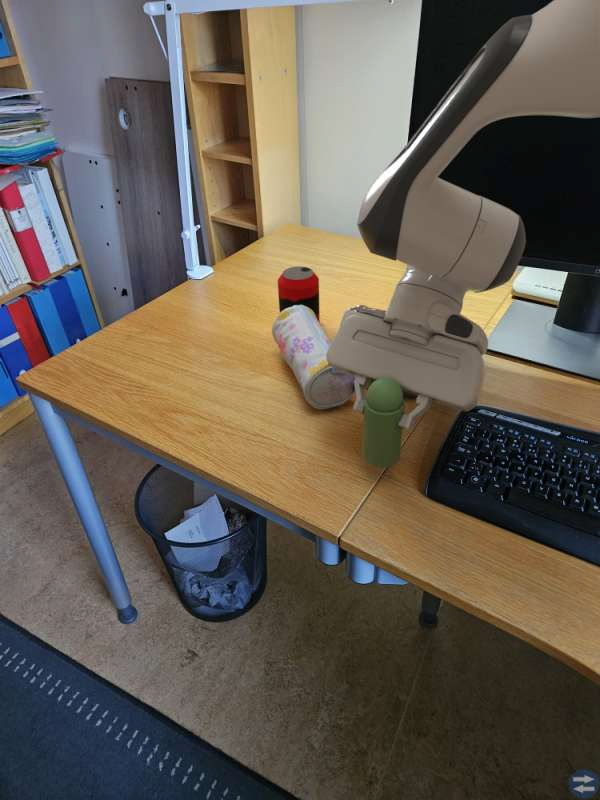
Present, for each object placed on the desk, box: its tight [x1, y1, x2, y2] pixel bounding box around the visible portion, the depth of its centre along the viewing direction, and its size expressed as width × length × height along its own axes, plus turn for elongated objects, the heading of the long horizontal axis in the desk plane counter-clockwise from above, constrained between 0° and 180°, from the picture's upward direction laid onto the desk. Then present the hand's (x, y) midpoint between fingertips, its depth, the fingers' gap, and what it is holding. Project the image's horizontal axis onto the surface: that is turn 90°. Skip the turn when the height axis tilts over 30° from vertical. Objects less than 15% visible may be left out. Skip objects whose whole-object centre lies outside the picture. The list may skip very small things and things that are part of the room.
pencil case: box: [271, 305, 356, 410], centre depth 93 cm, size 21×9×10 cm, turn 18°
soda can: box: [277, 266, 321, 324], centre depth 105 cm, size 8×8×12 cm
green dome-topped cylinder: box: [362, 378, 406, 469], centre depth 71 cm, size 5×5×12 cm
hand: (381, 421), depth 71 cm, fingers closed on green dome-topped cylinder, 5 cm apart
